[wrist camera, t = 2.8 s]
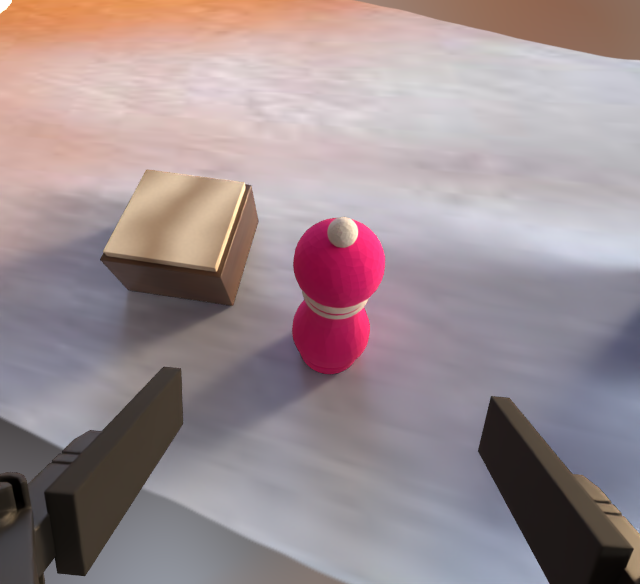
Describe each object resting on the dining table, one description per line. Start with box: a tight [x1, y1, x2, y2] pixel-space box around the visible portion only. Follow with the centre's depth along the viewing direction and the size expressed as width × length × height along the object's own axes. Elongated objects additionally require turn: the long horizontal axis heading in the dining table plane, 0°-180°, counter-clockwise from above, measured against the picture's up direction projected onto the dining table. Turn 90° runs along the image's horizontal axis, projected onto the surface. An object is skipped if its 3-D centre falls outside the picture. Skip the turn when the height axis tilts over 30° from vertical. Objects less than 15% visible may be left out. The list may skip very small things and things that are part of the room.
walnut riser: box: [100, 170, 258, 306], centre depth 40 cm, size 12×12×7 cm
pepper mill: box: [292, 217, 385, 374], centre depth 29 cm, size 7×7×20 cm
